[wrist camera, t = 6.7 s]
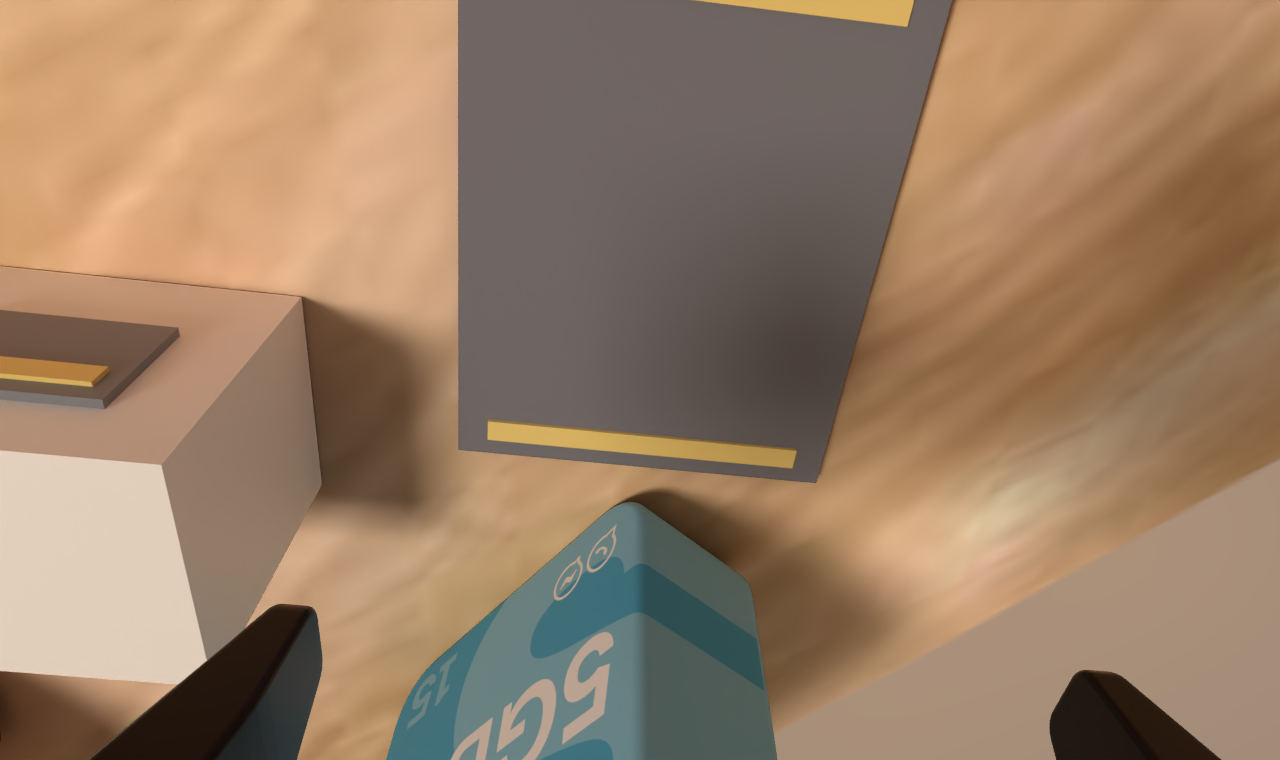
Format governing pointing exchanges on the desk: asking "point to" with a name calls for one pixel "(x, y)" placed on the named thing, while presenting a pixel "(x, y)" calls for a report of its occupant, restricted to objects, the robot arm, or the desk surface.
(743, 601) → the data package
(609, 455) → the mat
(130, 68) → the desk surface
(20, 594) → the white box
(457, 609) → the desk surface
